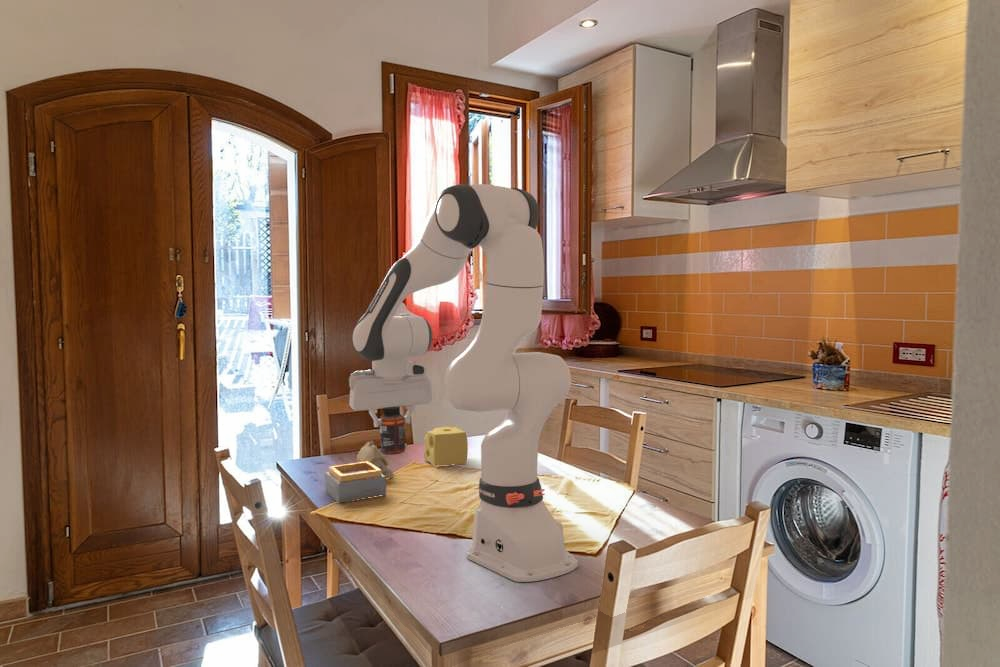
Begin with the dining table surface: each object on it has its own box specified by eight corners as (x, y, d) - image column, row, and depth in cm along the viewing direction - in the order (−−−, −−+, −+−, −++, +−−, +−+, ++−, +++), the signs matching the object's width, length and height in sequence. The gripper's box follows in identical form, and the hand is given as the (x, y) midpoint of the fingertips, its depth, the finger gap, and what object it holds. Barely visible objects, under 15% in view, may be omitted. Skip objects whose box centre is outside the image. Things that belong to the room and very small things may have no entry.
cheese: (423, 460, 200) (422, 428, 199) (456, 456, 204) (455, 425, 204) (434, 468, 190) (434, 434, 190) (468, 464, 195) (468, 431, 194)
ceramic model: (398, 480, 179) (397, 444, 178) (357, 485, 174) (356, 448, 174) (383, 468, 192) (383, 434, 191) (345, 473, 187) (344, 438, 186)
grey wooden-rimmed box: (386, 495, 165) (385, 470, 164) (338, 503, 159) (338, 477, 158) (370, 484, 175) (369, 460, 175) (325, 491, 169) (325, 466, 169)
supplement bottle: (406, 449, 162) (405, 404, 162) (403, 455, 156) (402, 408, 156) (382, 450, 162) (381, 405, 162) (378, 455, 156) (377, 408, 156)
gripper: (352, 372, 150) (354, 431, 151) (434, 366, 161) (435, 422, 161) (344, 370, 156) (346, 427, 156) (423, 365, 166) (425, 419, 167)
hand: (392, 425), depth 159 cm, fingers closed on supplement bottle, 6 cm apart
